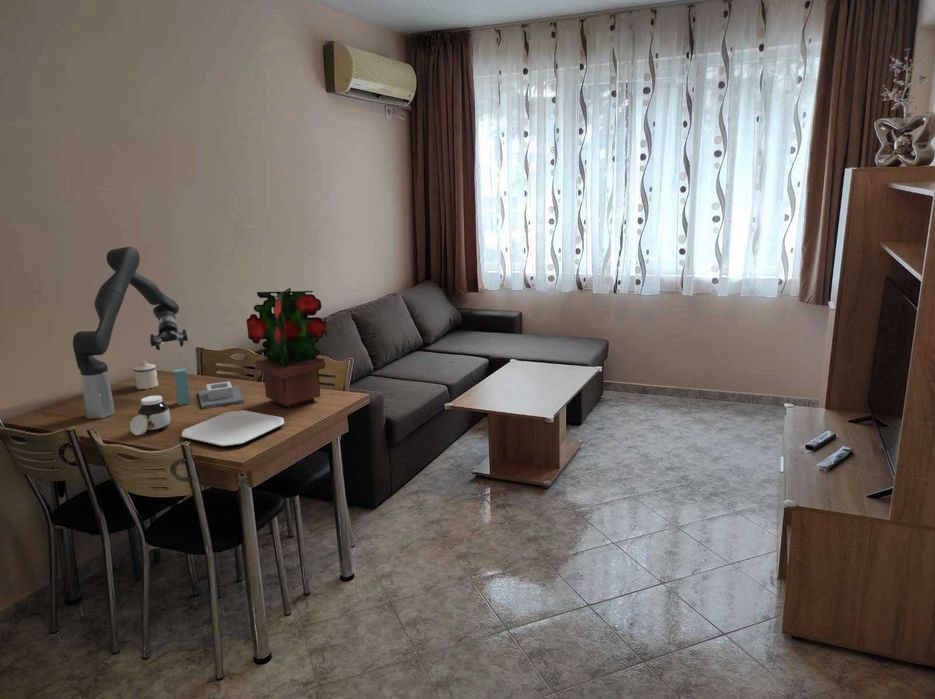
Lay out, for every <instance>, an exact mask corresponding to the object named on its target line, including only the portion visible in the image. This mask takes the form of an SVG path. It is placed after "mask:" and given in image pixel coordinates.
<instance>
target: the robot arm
mask: <svg viewBox="0 0 935 699" xmlns="http://www.w3.org/2000/svg"><path fill="white" fill-rule="evenodd" d="M140 258H141V257H140V254H139V251H138V250H137V249H136V248H135V247H133V246H125V247H119V248H118V247H117V248H114V249H110V250H109V251H108V252H107V254H106V262H107V264H108V266H109V267H110V268H111V270H112V271H114V273H113V274H112V275H111V276H110V277H109V278H108V279H107V280H105V282H104V283H103V284H102V285H101V286H100V288H99V289H98V291H97V294H96V297H95V299H94V308H95V312H96V314H97V316H98V318H99V323H98V327H97V328H96V330H89V331H88V330H84V331H83V330H82V331H77V332H76V333H75V334H74V335H73V337H72V347H73V352H74V358H75V361H76V366H77V369H78V370H79V372H80V378H81V384H82V390H83V402H84V406H85V413H86V418H87V419H104V418H106V417H107V418H108V417H111V416H112V415H114V414H115V413H116V412H115V411H116V410H115V405H114V400H113V398H114V397H113V393H112V387H111V382H110V376H109V375H110V374H109V368H108V364H107V363H106V362H104V361H101V360H100V359H97V357H95V356H102V355H104V354H105V353H106V352H107V350H108V348H109V345H110V342H111V338H112V335H113V334H112V333H113V330H114V326H115V323H116V319H117V318H118V314H119V312H120V309H121V307H122V304H123V301H124V298H125V296H126V293H127V291H128V287H129V286H130V285H131V286H133V288H134V289H135V290H137V291H138V293H139V294H141V296H142V297H143V298H144V299H145V300H146V301H147V303H149V305H150V306H151V305H152V306H155V307H153V310H152V311H153V314H154V317H156V319H157V320H158V322H157V323H158V324H157V328H158V334H157V335H154V334H152V333H151V334H150V340H149V342H150V347H155V349H156V350H158V351H161V345H163V344H165V343H169V342H174V341H175V342H179V347H181V348H182V347H183V346H184V345H185V344H184V342H188V341H189V339H188V334H187V331H186V329H182V330H181V331H178V330H179V326H178V323H177V318H176V314H178V313H179V312H180V308H179V305H178V303H177V302H176V301H175V300H173V299H172V298H170V297H169V296H167V295H165V293H164V292H162V290H161V289H160V288H159V287H158V285H156V284H155V283H154V282H153V281H151V280H150V279H148V278H147V277H144V276H143V275H141V274H139V273H137V272H136V271H137V270H138V267H139V264H140Z"/></svg>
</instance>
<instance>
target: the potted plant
mask: <svg viewBox="0 0 935 699" xmlns="http://www.w3.org/2000/svg"><path fill="white" fill-rule="evenodd" d="M291 288H292V287H288V288H287V289H286V290H285V289H284V291H257V292H256V295H257V297H258V298H260V299H265V300H264V301H263V303H261V304H255V305H254V306H253V310H254V312H257V313H258V315H259V317H258V315H257V314H256V313H252V314H250V316H249V317H248V318H247V319H246V328H247V337H248V339H249V340H251V341H252V343H253V344H255V345H258V344H259V343H260V342H261V340H265V341H262V344H261V345H262V346H263V348H265V349H266V350H264V351H263V355H264V357H263V358H259V359H255V361H254V362H255V370H257V371H259V372H261V373H263V379H264V381H263V382H264V390H265V398H267V399H269V400H272V401H274V402H273V403H275V402H276V404H278V403H279V404H278V405H280V404H281V405H280V406H282V405H283V407H284V406H285V407H284V408H287V407H291V408H293V407H292V406H294V407H297V406H296V405H298V406H300V404H301V405H304V404H303V403H305V404H308V403H312V402H315V399H316V398H319V397H321V388H320V387H321V386H320V374H319V370H323V369H326V364H325V358H324V357H320V354H321V352H320V350H319V349H317V348H316V347H315V345H316V344H315V343H318V342H319V340H320V339H321V338H324V335H325V337H328V333H327V332H328V331H327V319H326V317H325V318H324V320H323V319H322V318H321V317H320V316H319V317H318V316H316V315H317V313H318V311H321V309H322V302H321V300H320V299H319V298H317V297H316V295H314V294H311V293H314V290H301V291H300V290H297V291H296V290H293V291H292V289H291ZM306 293H308V294H306ZM309 293H310V294H309ZM272 294H273V295H272ZM274 294H276V296H274ZM309 316H312V317H309ZM307 402H308V403H307Z"/></svg>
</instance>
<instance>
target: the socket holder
mask: <svg viewBox="0 0 935 699" xmlns="http://www.w3.org/2000/svg"><path fill="white" fill-rule="evenodd" d="M205 385H206V389H201V390H197V392H198V397H199V402H200V408H201V407H202V408H205V409H208V408H207V407H211V408H214V407H213V406H218V407H221V406H220V405H225V406H228V405H227V404H231V405H237V404H236V403H238V404H242V403H243V402H244V403H245V400H244V398H243V395H242V392H241V389H240V388H239V385H238V384H237V385H232V383H231V381H230V380H229V381H223V382H215V383H209V384H208V383H207V384H205ZM244 403H243V404H244ZM202 408H201V409H202Z"/></svg>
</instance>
